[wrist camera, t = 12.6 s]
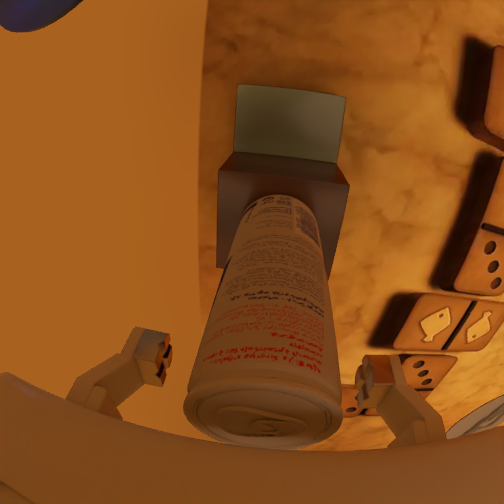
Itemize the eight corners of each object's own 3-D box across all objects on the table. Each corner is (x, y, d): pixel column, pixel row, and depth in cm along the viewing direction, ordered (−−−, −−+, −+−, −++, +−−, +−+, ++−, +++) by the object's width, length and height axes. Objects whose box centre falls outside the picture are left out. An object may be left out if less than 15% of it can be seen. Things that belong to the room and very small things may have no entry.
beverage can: (225, 215, 22) (147, 399, 9) (293, 177, 20) (300, 363, 7) (265, 272, 24) (238, 460, 11) (330, 242, 22) (363, 437, 9)
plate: (500, 387, 48) (502, 391, 47) (534, 394, 51) (535, 397, 50) (425, 442, 62) (426, 446, 61) (472, 442, 65) (473, 445, 64)
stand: (245, 84, 26) (222, 82, 17) (336, 95, 26) (363, 99, 16) (236, 212, 34) (216, 267, 24) (317, 222, 33) (328, 281, 24)
